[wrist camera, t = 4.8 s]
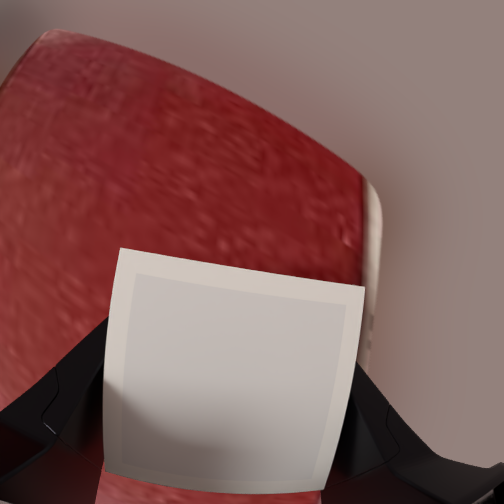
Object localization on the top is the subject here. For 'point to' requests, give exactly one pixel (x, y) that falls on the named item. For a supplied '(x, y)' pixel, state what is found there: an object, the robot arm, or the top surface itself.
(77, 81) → the top surface
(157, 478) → the white notched block
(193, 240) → the top surface
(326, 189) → the top surface
